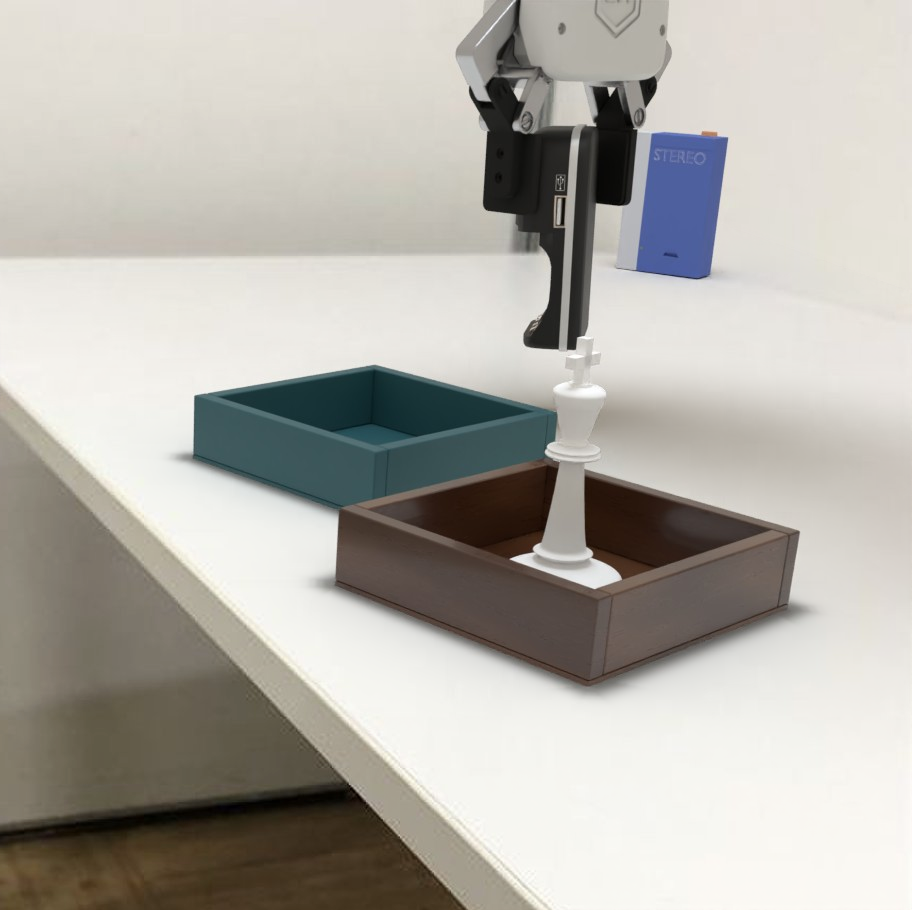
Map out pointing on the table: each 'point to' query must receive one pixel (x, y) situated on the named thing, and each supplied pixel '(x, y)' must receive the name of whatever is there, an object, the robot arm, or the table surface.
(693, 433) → the table surface
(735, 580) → the walnut tray
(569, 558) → the chess piece
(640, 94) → the robot arm
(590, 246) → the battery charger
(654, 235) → the walkman
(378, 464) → the teal tray
